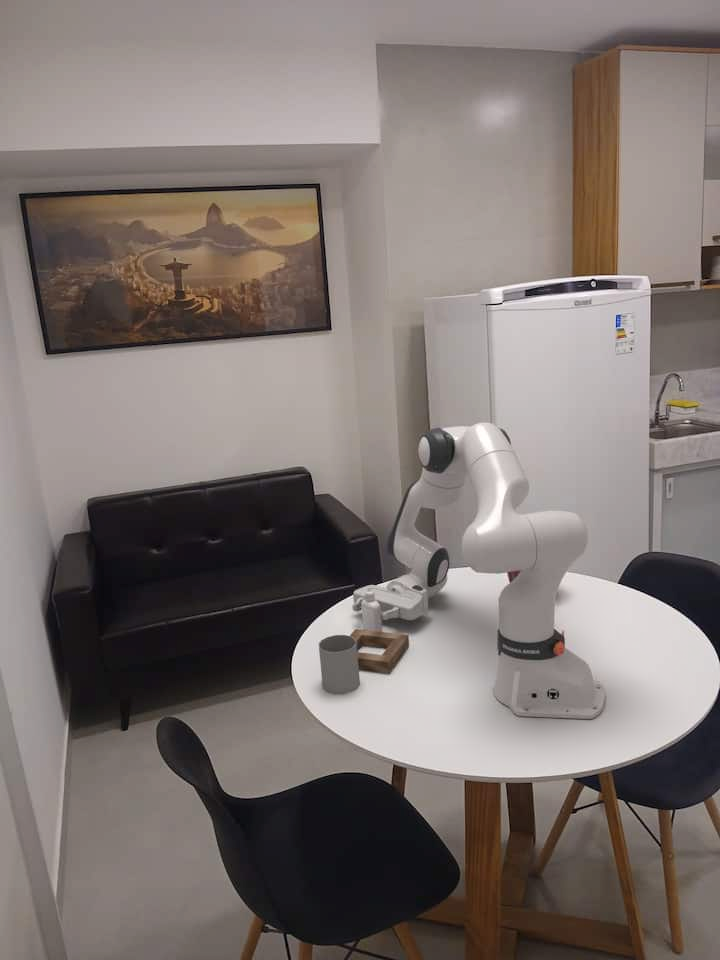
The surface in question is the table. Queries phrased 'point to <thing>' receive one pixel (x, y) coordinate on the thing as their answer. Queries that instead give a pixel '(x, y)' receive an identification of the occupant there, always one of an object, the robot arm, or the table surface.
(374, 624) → the eye dropper bottle
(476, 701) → the table surface
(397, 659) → the socket block
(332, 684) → the cup
